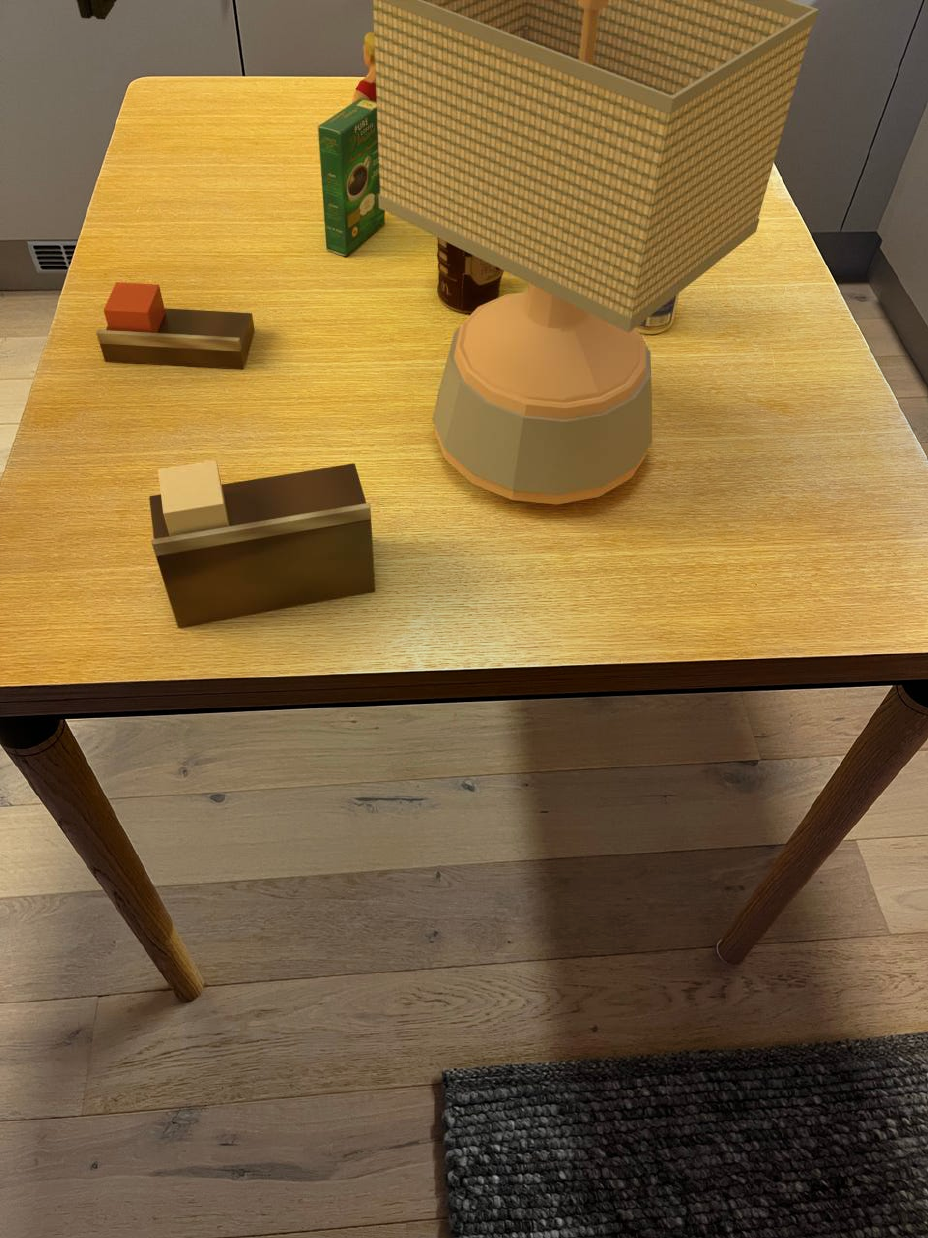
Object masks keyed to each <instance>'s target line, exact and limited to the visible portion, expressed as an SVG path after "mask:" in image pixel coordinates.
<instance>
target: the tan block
mask: <svg viewBox="0 0 928 1238" xmlns="http://www.w3.org/2000/svg"><path fill="white" fill-rule="evenodd" d="M157 473H158V474H157V475H158V480H159V490H160V494H161V499H162V507H163V514H164V517H165V521H166V524H167V528H168V531H169V535H170V536H175V535H181V534H187V533H193V532H199V531H205V530H211V529H217V528H223V527H229V522H228V516H227V510H226V505H225V499H224V493H223V488H222V484H223V483H222V480H221V475H220V471H219V466H218V460H216V459H214V460H207V461H201V462H195V463H194V462H193V463H188V464H187V463H186V464H181V465H175V466H169V467H163V468H158V469H157Z"/></svg>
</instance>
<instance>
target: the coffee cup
mask: <svg viewBox="0 0 928 1238" xmlns="http://www.w3.org/2000/svg"><path fill="white" fill-rule="evenodd" d="M436 239H437V244H436V245H437V246H436V247H437V252H436V259H437V262H438V263H437V271H438V278H437V279H438V283H437V288H436V292H437V296H438V298H439V300H440V302H441V303H442V304H443V305H444V306H445V307H446V308H448V309H450V310H452V311H455V312H459V313H462V314H470V313H471V314H472V313H473V312H474V311H475V310H476V309H477V308H478V307H479V306H481V305H484V304H486V303H488V302H490V301H492V300H495V299H497V298H499V297H500V285H501V280H502V278H503V275H504V273H505V271H504V270H502V269H500V268H498V267H496V266H494V265H492V264H490V263H488V262H486V261H484V260H482V259H480V258H478V257H476V256H474V255H472V254H470V253H468V252H466V251H464V250H462V249H460V248H458V247H456V246H454V245H452V244H450V243H448V242H446V241H444V240H442V239H440V238H438V237H436Z"/></svg>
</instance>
